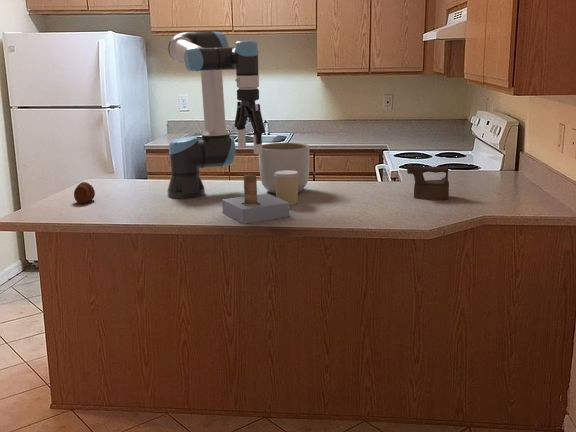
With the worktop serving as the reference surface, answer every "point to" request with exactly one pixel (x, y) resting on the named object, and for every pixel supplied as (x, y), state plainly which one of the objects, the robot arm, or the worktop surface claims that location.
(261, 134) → the robot arm
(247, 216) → the board
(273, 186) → the planter
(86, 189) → the potato
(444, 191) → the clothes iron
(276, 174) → the coffee cup
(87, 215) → the worktop surface
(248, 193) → the peg
